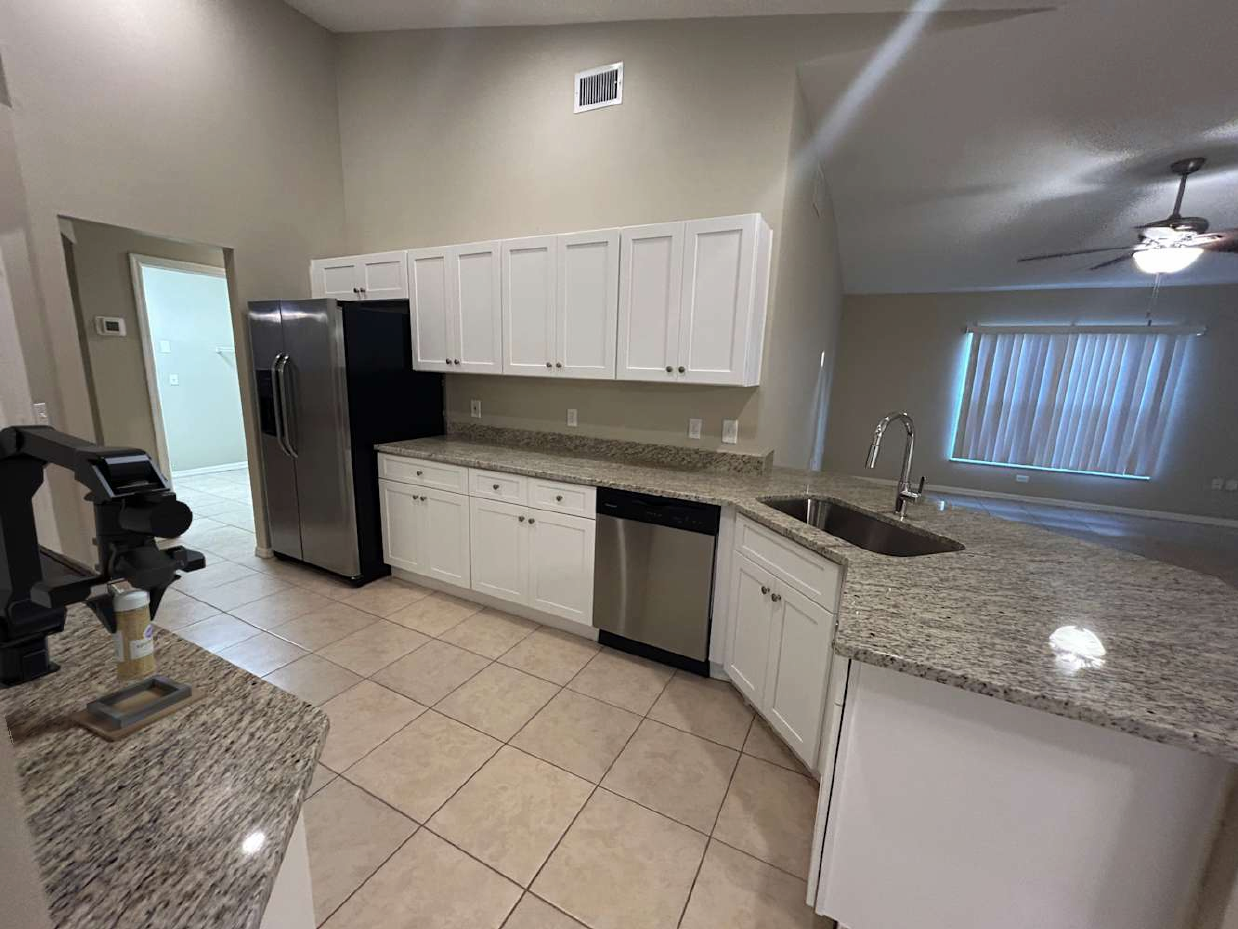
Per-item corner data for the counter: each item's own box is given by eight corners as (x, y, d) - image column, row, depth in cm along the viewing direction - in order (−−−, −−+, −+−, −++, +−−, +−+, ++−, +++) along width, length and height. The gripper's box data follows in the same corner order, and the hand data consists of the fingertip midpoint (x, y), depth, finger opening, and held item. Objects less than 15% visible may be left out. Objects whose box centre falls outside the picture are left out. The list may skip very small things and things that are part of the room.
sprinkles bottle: (152, 677, 78) (145, 596, 76) (112, 685, 75) (103, 602, 74) (159, 663, 82) (152, 586, 80) (120, 670, 79) (112, 591, 77)
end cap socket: (68, 718, 75) (67, 706, 75) (163, 678, 86) (163, 667, 86) (114, 741, 71) (113, 729, 71) (208, 696, 82) (207, 685, 82)
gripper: (67, 556, 64) (79, 668, 66) (224, 524, 81) (230, 613, 83) (22, 543, 68) (35, 649, 70) (181, 515, 85) (188, 601, 87)
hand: (131, 626), depth 77 cm, fingers closed on sprinkles bottle, 4 cm apart
